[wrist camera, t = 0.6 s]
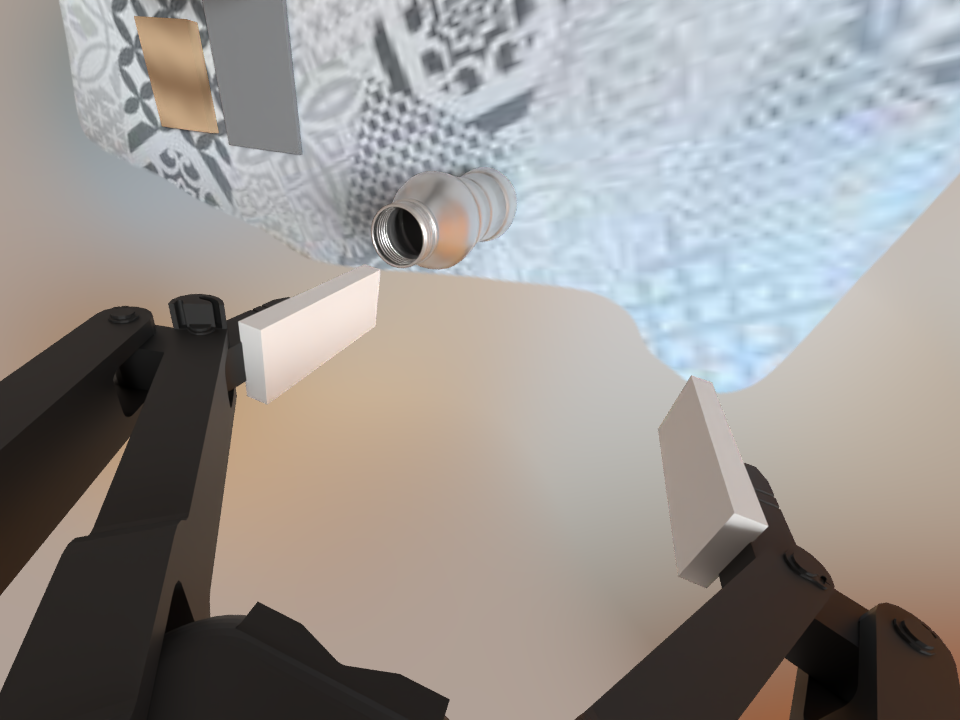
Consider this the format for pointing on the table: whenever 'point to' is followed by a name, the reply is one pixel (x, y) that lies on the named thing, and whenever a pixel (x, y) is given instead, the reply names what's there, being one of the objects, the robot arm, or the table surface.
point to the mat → (255, 72)
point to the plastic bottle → (443, 217)
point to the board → (177, 73)
